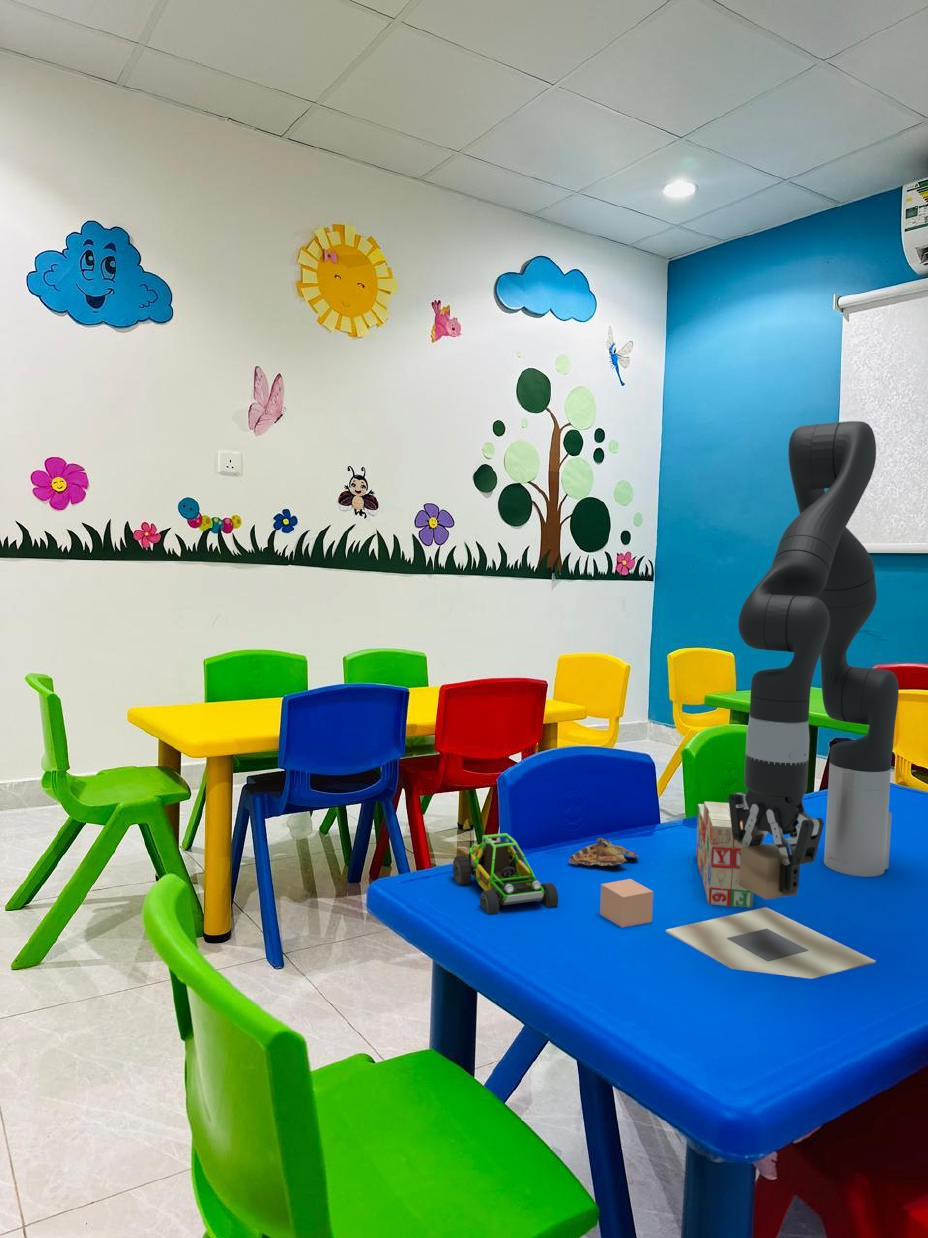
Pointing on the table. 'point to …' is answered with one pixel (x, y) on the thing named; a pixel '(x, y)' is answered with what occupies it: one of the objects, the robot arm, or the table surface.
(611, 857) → the butterfly model
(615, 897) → the terracotta cube
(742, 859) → the walnut cube
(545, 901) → the motor vehicle
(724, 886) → the stack of blocks
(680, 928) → the cream flat pad
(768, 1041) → the table surface
